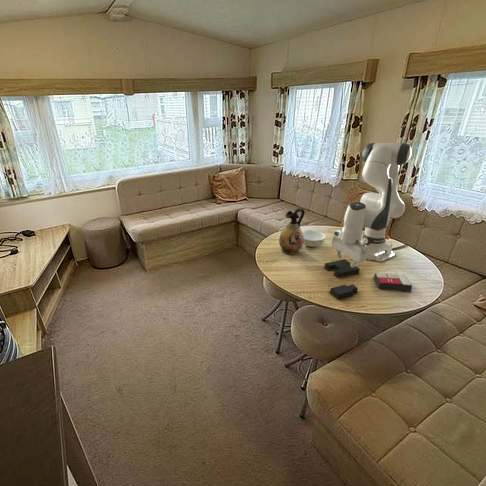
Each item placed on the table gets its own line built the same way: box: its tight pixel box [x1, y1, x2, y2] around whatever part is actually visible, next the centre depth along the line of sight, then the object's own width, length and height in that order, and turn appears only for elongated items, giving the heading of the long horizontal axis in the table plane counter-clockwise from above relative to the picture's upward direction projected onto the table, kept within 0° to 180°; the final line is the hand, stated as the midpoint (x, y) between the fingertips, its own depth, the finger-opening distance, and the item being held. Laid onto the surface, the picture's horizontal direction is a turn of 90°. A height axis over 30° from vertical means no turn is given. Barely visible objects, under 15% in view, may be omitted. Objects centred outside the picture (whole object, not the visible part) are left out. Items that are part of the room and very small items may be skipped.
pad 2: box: [329, 284, 359, 300], centre depth 153 cm, size 13×6×3 cm, turn 108°
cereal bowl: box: [301, 229, 326, 248], centre depth 203 cm, size 17×17×7 cm
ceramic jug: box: [278, 207, 305, 255], centre depth 190 cm, size 17×15×30 cm
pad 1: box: [324, 258, 360, 279], centre depth 173 cm, size 14×12×3 cm
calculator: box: [373, 272, 413, 292], centre depth 159 cm, size 11×4×15 cm
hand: (345, 262), depth 147 cm, fingers open, 8 cm apart
